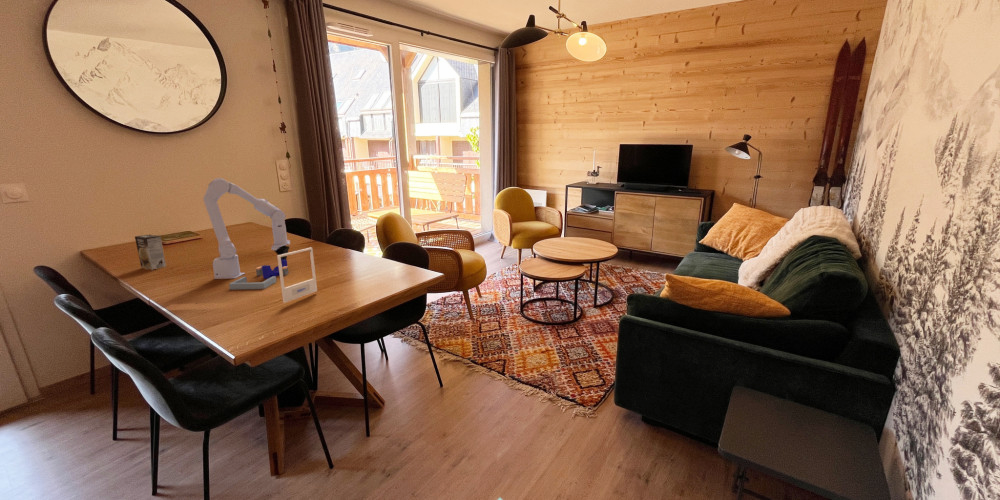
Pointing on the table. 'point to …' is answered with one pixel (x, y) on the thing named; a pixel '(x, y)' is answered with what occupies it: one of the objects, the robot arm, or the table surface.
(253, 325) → the table surface
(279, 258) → the photo frame
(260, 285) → the grey bent bracket
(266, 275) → the blue stepped bar
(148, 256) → the coffee box
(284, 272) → the posts
